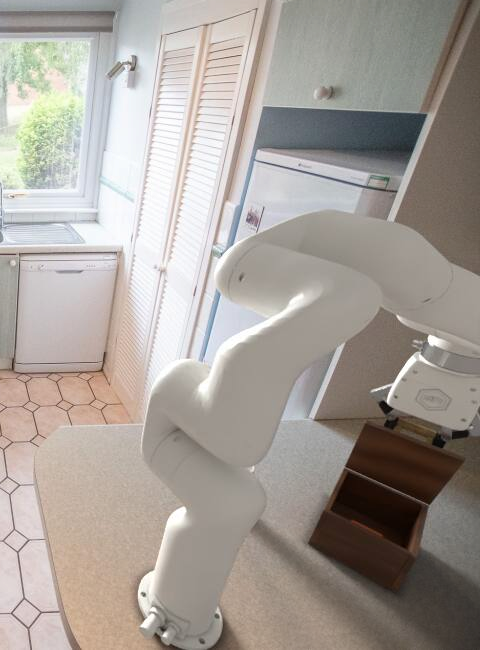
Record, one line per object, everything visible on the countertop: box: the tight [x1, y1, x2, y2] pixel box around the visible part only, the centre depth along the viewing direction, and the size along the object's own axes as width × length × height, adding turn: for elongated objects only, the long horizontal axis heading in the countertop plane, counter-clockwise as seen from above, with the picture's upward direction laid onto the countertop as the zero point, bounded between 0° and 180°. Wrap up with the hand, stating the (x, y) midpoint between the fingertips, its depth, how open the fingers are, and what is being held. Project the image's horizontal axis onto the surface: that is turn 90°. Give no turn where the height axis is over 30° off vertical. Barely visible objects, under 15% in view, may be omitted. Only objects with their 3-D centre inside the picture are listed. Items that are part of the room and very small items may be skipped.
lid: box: [344, 417, 467, 506], centre depth 82 cm, size 16×13×5 cm
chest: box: [307, 467, 430, 593], centre depth 84 cm, size 16×13×9 cm
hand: (407, 443), depth 80 cm, fingers closed on lid, 5 cm apart
